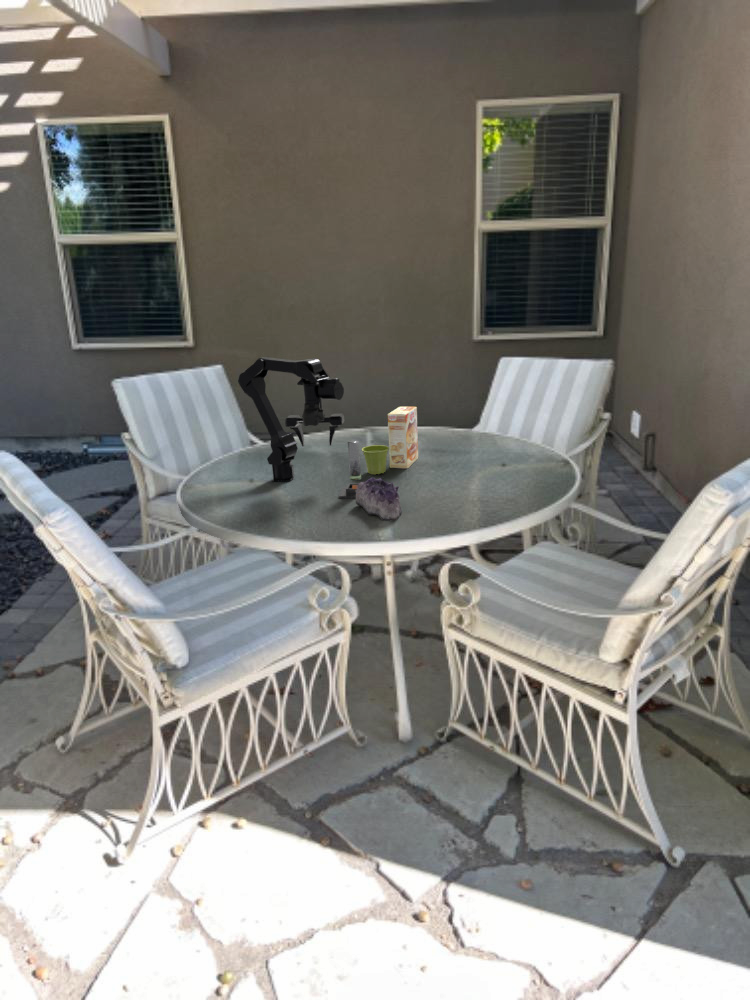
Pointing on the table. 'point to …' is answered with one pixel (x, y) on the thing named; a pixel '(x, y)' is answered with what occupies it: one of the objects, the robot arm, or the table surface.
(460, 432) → the table surface
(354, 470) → the column
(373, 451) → the plant pot
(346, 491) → the stand base
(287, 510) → the table surface
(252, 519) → the table surface
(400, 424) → the coffeecake box
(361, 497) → the geode
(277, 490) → the table surface
